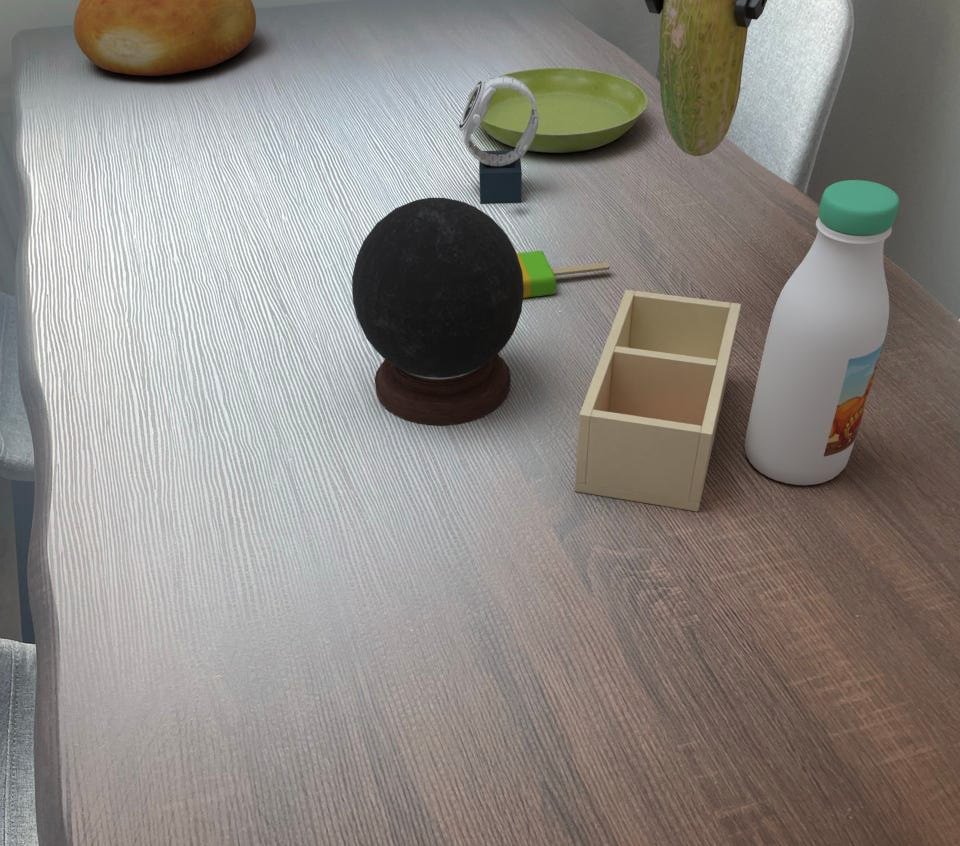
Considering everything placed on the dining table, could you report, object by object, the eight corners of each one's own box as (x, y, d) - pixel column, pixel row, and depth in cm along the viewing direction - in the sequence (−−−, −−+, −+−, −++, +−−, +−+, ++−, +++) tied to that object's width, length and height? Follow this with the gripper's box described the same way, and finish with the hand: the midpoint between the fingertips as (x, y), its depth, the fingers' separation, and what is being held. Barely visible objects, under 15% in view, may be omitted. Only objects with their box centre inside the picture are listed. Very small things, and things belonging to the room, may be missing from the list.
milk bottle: (781, 500, 74) (849, 232, 59) (723, 441, 79) (772, 180, 64) (868, 471, 76) (955, 206, 61) (806, 416, 81) (873, 157, 66)
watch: (461, 181, 111) (457, 70, 103) (535, 179, 111) (537, 68, 103) (461, 204, 107) (457, 91, 99) (538, 202, 107) (540, 89, 99)
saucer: (681, 134, 118) (685, 104, 116) (537, 180, 111) (538, 150, 108) (571, 81, 130) (572, 53, 127) (434, 120, 122) (433, 91, 120)
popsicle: (447, 277, 97) (446, 258, 95) (600, 261, 99) (602, 242, 97) (457, 307, 93) (456, 288, 92) (616, 289, 95) (618, 270, 93)
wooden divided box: (727, 378, 85) (741, 303, 80) (698, 512, 73) (712, 434, 68) (618, 363, 86) (625, 289, 81) (574, 491, 75) (579, 414, 70)
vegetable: (720, 177, 77) (772, -154, 62) (639, 167, 78) (670, -159, 63) (734, 145, 81) (786, -175, 66) (656, 136, 82) (689, -179, 67)
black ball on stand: (490, 446, 79) (488, 262, 68) (336, 414, 82) (310, 233, 71) (543, 357, 87) (548, 180, 76) (401, 331, 91) (386, 157, 79)
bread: (98, 31, 146) (76, -51, 139) (263, 22, 147) (250, -60, 140) (73, 91, 131) (47, 2, 123) (257, 80, 132) (242, -9, 125)
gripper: (896, -186, 70) (800, 60, 72) (699, -201, 75) (615, 29, 77) (895, -280, 63) (789, -5, 65) (678, -289, 68) (586, -34, 70)
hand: (695, 13), depth 71 cm, fingers closed on vegetable, 6 cm apart
